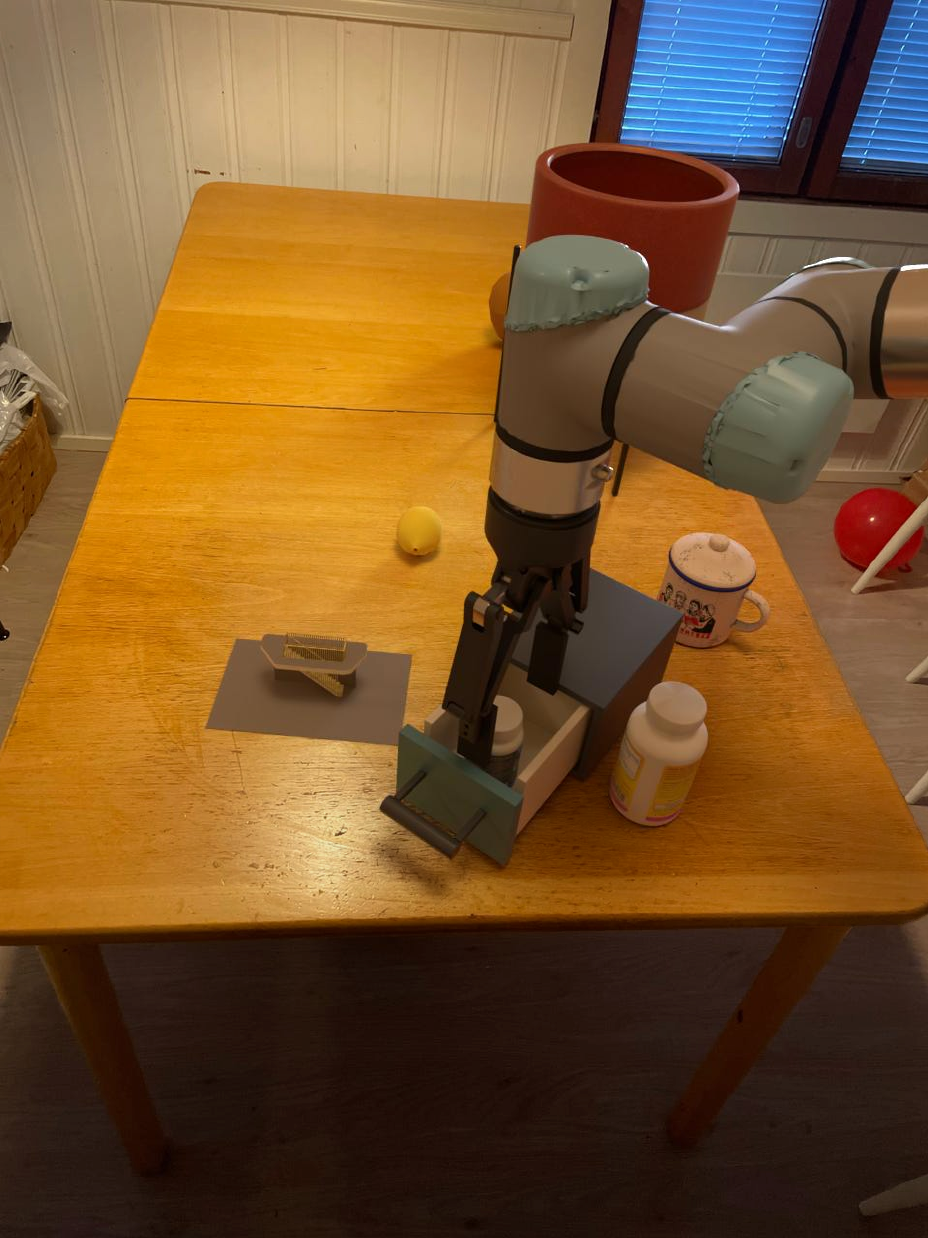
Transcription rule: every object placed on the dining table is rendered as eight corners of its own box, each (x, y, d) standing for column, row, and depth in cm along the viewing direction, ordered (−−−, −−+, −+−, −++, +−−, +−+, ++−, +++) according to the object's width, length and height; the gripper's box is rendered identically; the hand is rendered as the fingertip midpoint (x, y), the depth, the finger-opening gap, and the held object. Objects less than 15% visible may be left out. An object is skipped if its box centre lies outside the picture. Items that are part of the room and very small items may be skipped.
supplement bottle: (691, 789, 80) (731, 694, 72) (665, 842, 76) (705, 747, 67) (624, 757, 83) (655, 660, 74) (595, 806, 78) (624, 709, 69)
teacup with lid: (635, 622, 97) (659, 537, 89) (675, 584, 102) (702, 501, 94) (733, 677, 92) (768, 593, 84) (770, 634, 97) (807, 551, 89)
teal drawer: (468, 910, 69) (478, 851, 63) (357, 831, 73) (357, 769, 68) (591, 758, 81) (609, 697, 75) (490, 698, 85) (499, 636, 80)
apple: (472, 331, 148) (478, 262, 140) (539, 322, 152) (549, 255, 145) (507, 366, 139) (515, 295, 132) (577, 355, 144) (589, 286, 136)
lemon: (400, 528, 106) (402, 491, 102) (445, 535, 106) (448, 497, 102) (390, 565, 101) (391, 527, 97) (436, 571, 100) (439, 533, 97)
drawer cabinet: (583, 783, 80) (604, 708, 73) (471, 715, 85) (480, 639, 78) (659, 686, 90) (684, 613, 83) (555, 631, 95) (570, 557, 88)
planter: (527, 500, 112) (572, 209, 88) (485, 402, 130) (513, 138, 106) (697, 492, 117) (784, 213, 93) (634, 398, 135) (693, 144, 111)
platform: (399, 745, 81) (402, 697, 77) (205, 727, 81) (196, 678, 77) (412, 654, 90) (414, 607, 86) (236, 638, 90) (230, 589, 85)
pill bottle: (521, 795, 76) (534, 732, 70) (467, 801, 75) (476, 738, 69) (508, 752, 79) (520, 688, 74) (457, 757, 78) (465, 693, 73)
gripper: (498, 595, 49) (467, 833, 64) (670, 446, 63) (613, 668, 78) (394, 543, 52) (387, 781, 67) (580, 411, 66) (541, 631, 81)
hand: (509, 720), depth 72 cm, fingers open, 10 cm apart
